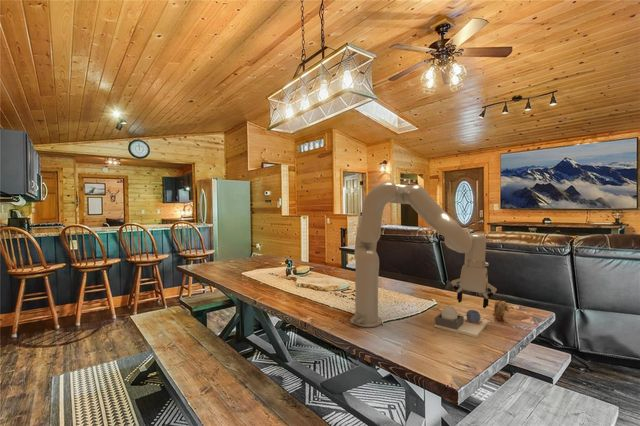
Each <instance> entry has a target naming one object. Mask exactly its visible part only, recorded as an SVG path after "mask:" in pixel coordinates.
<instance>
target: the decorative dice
mask: <svg viewBox="0 0 640 426" xmlns="http://www.w3.org/2000/svg"><path fill="white" fill-rule="evenodd" d="M465 316H467V320H468V321H469V322H472V323H478V322H479V321H480V319H481V314H480V312H479V311H477V310H474V309H470V310H468V311H466V315H465Z"/></svg>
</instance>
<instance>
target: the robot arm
mask: <svg viewBox="0 0 640 426" xmlns="http://www.w3.org/2000/svg"><path fill="white" fill-rule="evenodd" d="M388 203H390V204H400V205H402V204H403V205H410V206H411V208H412V209H413V210H414V211H415V212H416V214H418V215H419V217H420V218H421V219H422V221H424V222H425V223H426V224H427V225H428V226H429V227H431V228H432V229H434V230H436V232H438V233H439V234H440V235H442V237H443V238H444V244H445V246H446V247H447V248H448V249H450V250H452V251H455V252H456V253H460V254H464V263H463V265H462V266H461V270H460V276H459V277H460V278H457V279H453V280H451V282H450V283H451V284H452V286H453V287H452V288H453V289H454V291H456V300H457V303H461V302H463V291H469V292H474V293H478V294H482V296H484V298H483V301H482V308H484V309H486V308H487V307H488V306H489V298H491V297H492V296H494V294H495V293H496V292H497V290H498V289H497V288H496V287H495V286H493V285H492V284H491V283H489V279H488V278H489V276H488V268H487V267H489V265H490V264H489V262H486V250H487V249H486V248H487V247H486V246H487V236H486V235H485V234H482V233H467V231H466V230H465V229H464V228H463V227H462V226H461V225H460V224H459V223H458V222H457V221H456V220H455V219H454V218H452V216H450V214H448V213H447V212H446V211H445V210H444V209H443V208H442V207H441V206H440V205H439V204H438V202H436V200H435V199H434V198H433V196H431V194H429V193H428V191H427V190H426V189H425V188H424V187H423V186H421V185H420V184H418V183H417V184H398V183H394V182H393V181H383V182H381V183H379V184H378V185H375V186H374V187H373V188H372V189H371V190H370V191H369V192H368V193H367V195H366V196H365V198H364V200H363V204H362V210H361V215H360V223H359V224H358V225H357V227H356V234H355V244H354V254H353V255H354V260H355V272H354V273H355V275H354V276H355V277H354V279H355V283H354V285H355V294H354V295H355V296H354V297H355V298H354V299H355V300H354V302H355V304H354V305H355V306H354V308H355V309H354V311H355V312H354V315H353V316H352V317H350V319H349V323H351V324H354V325H355V326H358V327H362V328H375V327H379V326H381V324H382V321H383V320H382V318H381V317H380V316H379V271H380V257H379V255H378V252H377V246H378V245H377V244H378V241H379V240H380V238H381V235H382V234H381V233H382V229H381V228H382V219H383V214H384V209H385V207H386V205H387V204H388ZM457 283H458V284H459V286H458V285H457ZM488 289H490V290H491V291H490V292H489V293H488Z"/></svg>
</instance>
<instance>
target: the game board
mask: <svg viewBox="0 0 640 426" xmlns="http://www.w3.org/2000/svg"><path fill="white" fill-rule="evenodd" d="M488 324H489V321H488V320H486V319H482V318H480V321H479V322H478V323H472V322H469V321H468V320H467V316H466V315H463V314H458V313H457V320H456V321H453V320H448V319H444V318H442V311H440V313H438V314H437V315H436V316H435V317H434V327H435V328H438V329H441V330H445V331H450V332H454V333H457V334H461V335H465V336H469V337H472V338H478V337H479V335H480V334H481V333H482V332H483V330H484V329H485V328H486V327H487V325H488Z"/></svg>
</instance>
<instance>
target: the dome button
mask: <svg viewBox="0 0 640 426" xmlns="http://www.w3.org/2000/svg"><path fill="white" fill-rule="evenodd" d="M441 312H442V318H444V319H448V320H453V321H456V320H457V314H458V311H457V309H456V307H454V306H452V305H445V306H443V308H442V310H441Z"/></svg>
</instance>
